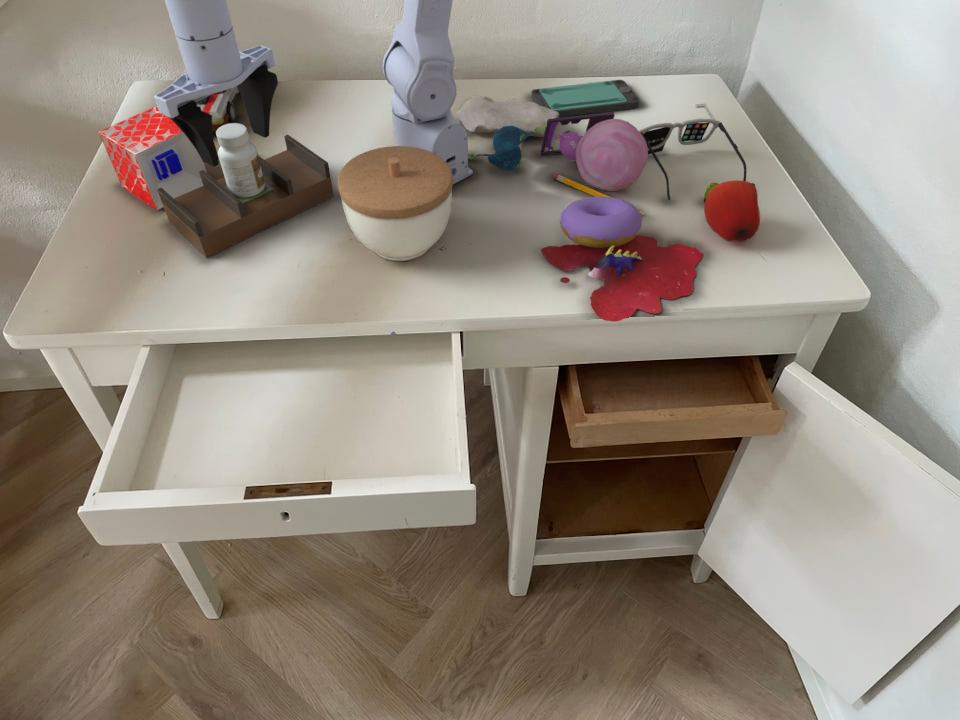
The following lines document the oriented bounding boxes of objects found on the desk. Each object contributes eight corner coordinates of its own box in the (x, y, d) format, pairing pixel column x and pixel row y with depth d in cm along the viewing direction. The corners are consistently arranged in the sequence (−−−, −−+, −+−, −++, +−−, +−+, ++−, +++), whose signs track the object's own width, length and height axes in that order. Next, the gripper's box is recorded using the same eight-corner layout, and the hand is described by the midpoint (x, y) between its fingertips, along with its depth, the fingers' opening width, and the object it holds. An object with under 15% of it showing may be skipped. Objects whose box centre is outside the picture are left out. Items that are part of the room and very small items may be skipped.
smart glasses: (696, 128, 101) (708, 99, 97) (741, 201, 94) (756, 173, 90) (618, 138, 99) (627, 108, 95) (659, 214, 92) (671, 185, 88)
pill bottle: (270, 192, 86) (256, 134, 80) (234, 202, 85) (217, 144, 79) (259, 174, 89) (244, 117, 83) (224, 184, 87) (206, 126, 82)
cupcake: (630, 94, 91) (616, 112, 83) (667, 151, 93) (656, 173, 85) (574, 135, 96) (556, 155, 88) (610, 188, 98) (596, 212, 90)
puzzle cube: (174, 161, 96) (155, 106, 91) (210, 182, 93) (192, 127, 87) (121, 187, 92) (97, 131, 86) (156, 210, 89) (134, 154, 83)
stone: (472, 91, 107) (569, 100, 102) (472, 113, 109) (567, 123, 104) (443, 109, 99) (547, 120, 94) (444, 133, 101) (546, 145, 96)
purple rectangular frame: (612, 107, 93) (546, 114, 92) (623, 139, 91) (555, 146, 90) (601, 142, 99) (538, 148, 98) (610, 172, 98) (547, 179, 96)
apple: (786, 226, 81) (761, 164, 86) (747, 205, 78) (724, 142, 83) (732, 264, 87) (712, 203, 92) (694, 246, 83) (675, 184, 88)
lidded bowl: (456, 274, 81) (454, 192, 73) (345, 279, 80) (330, 196, 72) (452, 208, 89) (449, 128, 81) (351, 212, 89) (338, 131, 81)
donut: (632, 255, 78) (627, 213, 76) (553, 259, 83) (546, 219, 80) (651, 223, 86) (647, 184, 84) (578, 228, 90) (572, 191, 88)
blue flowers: (477, 161, 101) (472, 193, 96) (463, 137, 98) (458, 168, 93) (555, 130, 96) (555, 161, 92) (543, 104, 94) (543, 135, 89)
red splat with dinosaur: (655, 236, 91) (665, 203, 88) (729, 302, 81) (744, 268, 78) (532, 255, 84) (539, 220, 81) (598, 329, 74) (609, 293, 71)
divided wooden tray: (334, 196, 91) (328, 162, 87) (206, 258, 83) (194, 223, 79) (295, 168, 95) (287, 134, 92) (170, 223, 87) (156, 189, 83)
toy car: (172, 139, 100) (154, 87, 94) (205, 78, 112) (190, 29, 107) (227, 139, 100) (212, 87, 95) (254, 78, 112) (242, 29, 107)
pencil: (557, 175, 94) (556, 172, 93) (646, 213, 88) (646, 210, 88) (554, 180, 94) (553, 177, 93) (643, 218, 88) (643, 215, 88)
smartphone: (641, 100, 106) (545, 111, 103) (639, 107, 107) (544, 119, 104) (622, 77, 111) (530, 87, 108) (621, 85, 112) (529, 95, 109)
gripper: (231, -3, 78) (259, 112, 88) (118, 44, 70) (163, 165, 80) (277, 12, 75) (300, 129, 85) (164, 63, 67) (205, 186, 77)
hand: (236, 148), depth 83 cm, fingers open, 7 cm apart
